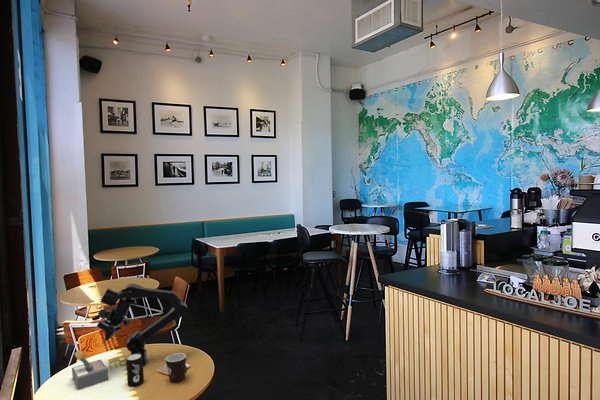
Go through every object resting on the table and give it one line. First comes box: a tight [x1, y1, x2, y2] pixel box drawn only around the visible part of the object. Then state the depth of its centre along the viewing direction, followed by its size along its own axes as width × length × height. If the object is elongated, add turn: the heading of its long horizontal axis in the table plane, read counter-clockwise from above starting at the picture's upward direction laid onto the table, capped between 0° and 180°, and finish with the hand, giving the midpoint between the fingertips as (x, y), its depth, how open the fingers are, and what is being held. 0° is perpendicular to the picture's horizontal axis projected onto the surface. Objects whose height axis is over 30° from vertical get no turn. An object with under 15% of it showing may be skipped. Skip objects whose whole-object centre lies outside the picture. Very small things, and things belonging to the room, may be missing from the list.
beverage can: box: [125, 354, 145, 387], centre depth 177 cm, size 7×7×12 cm
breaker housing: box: [71, 359, 109, 391], centre depth 182 cm, size 12×13×5 cm
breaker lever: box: [73, 349, 93, 370], centre depth 180 cm, size 2×5×9 cm
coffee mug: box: [165, 352, 188, 384], centre depth 177 cm, size 12×9×10 cm
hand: (106, 340), depth 190 cm, fingers closed
